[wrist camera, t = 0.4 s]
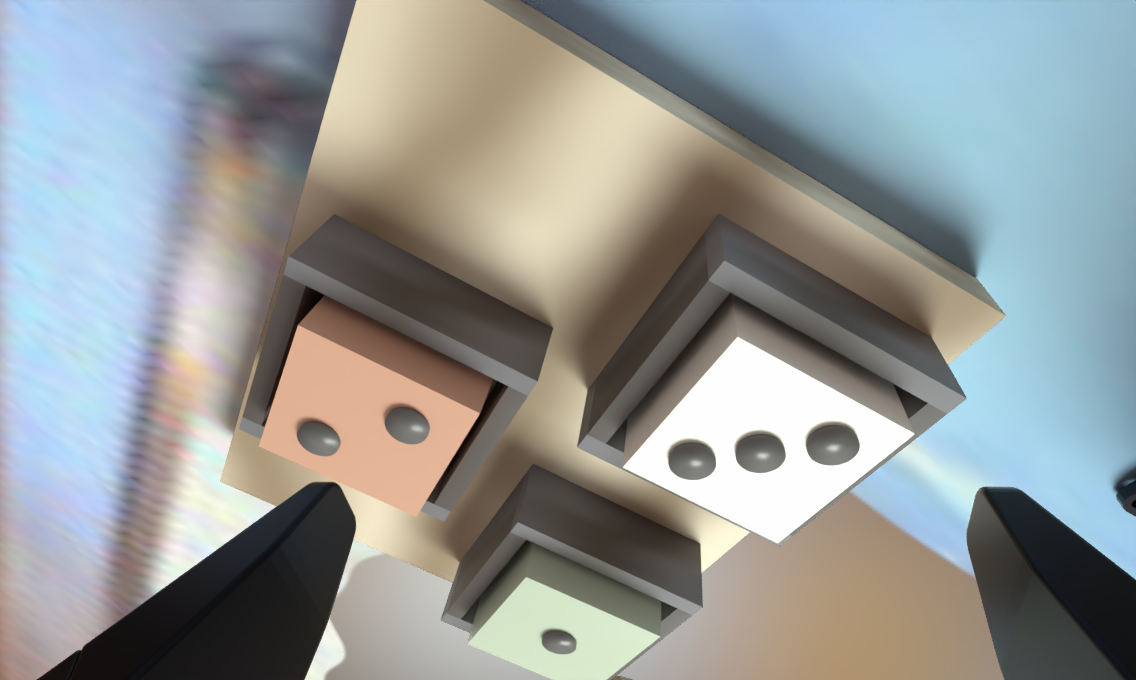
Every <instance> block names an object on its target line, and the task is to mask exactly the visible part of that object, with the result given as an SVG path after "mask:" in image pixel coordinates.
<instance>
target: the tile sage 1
mask: <svg viewBox="0 0 1136 680" xmlns="http://www.w3.org/2000/svg"><path fill="white" fill-rule="evenodd" d="M660 637H661V601H660V600H658V599H656V598H654V597H651V596H649V595H647V594H645V593H643V592H640V591H638V590H636V589H634V588H632V587H629V586H627V585H625V584H623V583H621V582H618V581H616V580H614V579H612V578H610V577H607V576H605V575H603V574H601V573H599V572H596V571H594V570H592V569H590V568H588V567H586V566H583V565H581V564H579V563H577V562H575V561H572V560H570V559H568V558H566V557H564V556H561V555H559V554H557V553H555V552H553V551H550V550H548V549H546V548H544V547H542V546H539V545H537V544H535V543H533V542H531V541H528V540H526V541H525V542H524V544H523V545H522V546H521V547H520V548H519V550H518V551H517V552H516V553H515V554H514V556H513V557H512V558H511V559H510V561H509V562H508V563H507V564H506V565H505V567H504V568H503V569H502V570H501V571H500V573H499V574H498V575H497V576H496V577H495V579H494V580H493V581H492V582H491V584H490V585H489V586H488V587H487V588H486V590H485V591H484V592H483V593H482V594H481V597H480V601H479V604H478V608H477V611H476V615H475V618H474V622H473V625H472V629H471V632H470V636H469V640H468V643H467V644H469V645H471V646H473V647H476V648H478V649H480V650H482V651H485V652H487V653H490V654H492V655H494V656H497V657H499V658H502V659H504V660H507V661H509V662H511V663H514V664H516V665H519V666H521V667H523V668H526V669H528V670H530V671H533V672H535V673H537V674H540V675H542V676H545V677H547V678H549V679H552V680H607V679H608V678H609V677H611V676H612V675H613V674H614V673H616V672H617V671H618V670H619V669H621V668H622V667H623V666H624V665H626V664H627V663H628V662H629V661H631V660H632V659H633V658H634V657H636V656H637V655H638V654H639V653H641V652H642V651H643V650H644V649H646V648H647V647H648V646H650V645H651V644H652V643H653V642H655V641H656V640H657V639H658V638H660Z"/></svg>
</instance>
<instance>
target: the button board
mask: <svg viewBox="0 0 1136 680" xmlns="http://www.w3.org/2000/svg"><path fill="white" fill-rule="evenodd" d="M730 293H732V294H734V295H736V296H737V297H739V298H741V299H743V300H745V301H746V302H748V303H750V304H752V305H754V306H755V307H757V308H759V309H761V310H762V311H764V312H766V313H768V314H770V315H771V316H773V317H775V318H777V319H779V320H780V321H782V322H784V323H786V324H788V325H789V326H791V327H793V328H795V329H796V330H798V331H800V332H802V333H804V334H805V335H807V336H809V337H811V338H813V339H814V340H816V341H818V342H820V343H821V344H823V345H825V346H827V347H829V348H830V349H832V350H834V351H836V352H838V353H839V354H841V355H843V356H845V357H846V358H848V359H850V360H852V361H854V362H855V363H857V364H859V365H861V366H863V367H864V368H866V369H868V370H870V371H871V372H873V373H875V374H877V375H879V376H880V377H882V378H884V379H886V380H888V381H889V382H891V383H893V385H894V387H895V390H896V392H897V394H898V396H899V399H900V401H901V403H902V406H903V408H904V410H905V412H906V415H907V417H908V419H909V421H910V424H911V426H912V428H913V431H914V433H915V434H914V435H913V436H912V437H911V438H909V439H908V440H907V441H906V442H904V443H903V444H902V445H901V446H899V447H898V448H897V449H896V450H894V451H893V452H892V453H890V454H889V455H888V456H887V457H885V458H884V459H883V460H882V461H880V462H879V463H878V464H877V465H875V466H874V467H873V468H872V469H870V470H869V471H868V472H867V473H865V474H864V475H863V476H862V477H860V478H859V479H858V480H857V481H855V482H854V483H853V484H852V485H850V486H849V487H848V488H847V489H845V490H844V491H843V492H842V493H840V494H839V495H838V496H837V497H835V498H834V499H833V500H832V501H830V502H829V503H828V504H826V505H825V506H824V507H823V508H821V509H820V510H819V511H818V512H816V513H815V514H814V515H813V516H811V517H810V518H809V519H808V520H806V521H805V522H804V523H803V524H801V525H800V526H799V527H798V528H796V529H795V530H794V531H793V532H791V533H790V534H789V535H788V536H786V537H785V538H784V539H783V540H781V541H780V542H779V543H776V542H774V541H772V540H770V539H768V538H766V537H764V536H762V535H760V534H758V533H755V532H753V531H751V530H749V529H747V528H745V527H743V526H741V525H739V524H737V523H735V522H733V521H731V520H729V519H727V518H725V517H723V516H721V515H719V514H717V513H715V512H713V511H711V510H709V509H707V508H704V507H702V506H700V505H698V504H696V503H694V502H692V501H690V500H688V499H686V498H684V497H682V496H680V495H678V494H676V493H674V492H672V491H670V490H668V489H666V488H664V487H662V486H660V485H658V484H656V483H653V482H651V481H649V480H647V479H645V478H643V477H641V476H639V475H637V474H635V473H633V472H631V471H629V470H627V469H625V468H623V460H624V449H625V439H626V429H627V419H628V416H629V415H630V414H631V413H632V412H633V410H634V409H635V408H636V407H637V406H638V404H639V403H640V402H641V401H642V400H643V398H644V397H645V396H646V395H647V393H648V392H649V391H650V390H651V389H652V387H653V386H654V385H655V384H656V383H657V381H658V380H659V379H660V378H661V377H662V375H663V374H664V373H665V372H666V370H667V369H668V368H669V367H670V366H671V364H672V363H673V362H674V361H675V360H676V358H677V357H678V356H679V355H680V354H681V352H682V351H683V350H684V349H685V347H686V346H687V345H688V344H689V343H690V341H691V340H692V339H693V338H694V337H695V335H696V334H697V333H698V332H699V331H700V329H701V328H702V327H703V326H704V324H705V323H706V322H707V321H708V320H709V318H710V317H711V316H712V315H713V314H714V312H715V311H716V310H717V309H718V308H719V306H720V305H721V304H722V303H723V301H724V300H725V299H726V298H727V297H728V295H729V294H730ZM324 295H326V296H328V297H330V298H332V299H334V300H336V301H338V302H340V303H342V304H344V305H346V306H348V307H350V308H352V309H354V310H356V311H358V312H360V313H362V314H364V315H366V316H368V317H370V318H372V319H374V320H376V321H378V322H380V323H382V324H384V325H386V326H388V327H390V328H392V329H394V330H396V331H398V332H400V333H402V334H404V335H406V336H408V337H410V338H412V339H414V340H416V341H418V342H420V343H422V344H424V345H426V346H428V347H430V348H432V349H434V350H436V351H438V352H440V353H442V354H445V355H447V356H449V357H451V358H453V359H455V360H457V361H459V362H461V363H463V364H465V365H467V366H469V367H471V368H473V369H475V370H477V371H479V372H481V373H483V374H485V375H487V376H489V377H491V378H493V381H492V384H491V386H490V389H489V391H488V394H487V397H486V399H485V402H484V404H483V407H482V410H481V412H480V414H479V416H478V418H477V419H476V421H475V422H474V424H473V426H472V427H471V429H470V431H469V432H468V434H467V435H466V437H465V439H464V440H463V442H462V444H461V445H460V447H459V448H458V450H457V452H456V453H455V455H454V457H453V458H452V460H451V461H450V463H449V465H448V466H447V468H446V469H445V471H444V473H443V474H442V476H441V478H440V479H439V481H438V482H437V484H436V486H435V487H434V489H433V491H432V492H431V494H430V495H429V497H428V499H427V500H426V502H425V504H424V505H423V507H422V508H421V510H420V512H419V513H418V515H417V516H416V517H415V516H413V515H411V514H409V513H407V512H404V511H402V510H400V509H398V508H395V507H393V506H391V505H389V504H386V503H384V502H382V501H380V500H378V499H375V498H373V497H371V496H369V495H366V494H364V493H362V492H360V491H357V490H355V489H353V488H351V487H349V486H346V485H344V484H342V483H340V482H337V481H335V480H333V479H331V478H328V477H326V476H324V475H322V474H320V473H317V472H315V471H313V470H311V469H308V468H306V467H304V466H302V465H299V464H297V463H295V462H293V461H291V460H288V459H286V458H284V457H282V456H279V455H277V454H275V453H273V452H270V451H268V450H266V449H264V448H261V447H259V444H260V441H261V438H262V434H263V431H264V428H265V425H266V422H267V419H268V416H269V413H270V410H271V407H272V404H273V401H274V398H275V394H276V391H277V388H278V385H279V382H280V379H281V376H282V373H283V370H284V367H285V364H286V361H287V357H288V354H289V351H290V348H291V345H292V342H293V339H294V336H295V333H296V330H297V327H298V325H299V323H300V322H301V321H302V320H303V319H304V318H305V317H306V316H307V314H308V313H309V312H310V311H311V310H312V309H313V308H314V307H315V305H316V304H317V303H318V302H319V301H320V300H321V299H322V297H323V296H324ZM1005 316H1006V315H1005V314H1004V312H1003V311H1002V310H1001V309H1000V307H999V306H998V305H997V303H996V302H995V301H994V300H993V298H992V297H991V296H990V294H989V293H988V292H987V291H986V289H985V288H984V287H983V285H982V284H981V283H980V282H979V280H978V279H977V278H975V277H973V276H972V275H970V274H968V273H967V272H965V271H964V270H962V269H960V268H959V267H957V266H955V265H954V264H952V263H950V262H949V261H947V260H946V259H944V258H942V257H941V256H939V255H937V254H936V253H934V252H932V251H931V250H929V249H928V248H926V247H924V246H923V245H921V244H919V243H918V242H916V241H914V240H913V239H911V238H909V237H908V236H906V235H905V234H903V233H901V232H900V231H898V230H896V229H895V228H893V227H891V226H890V225H888V224H887V223H885V222H883V221H882V220H880V219H878V218H877V217H875V216H873V215H872V214H870V213H868V212H867V211H865V210H864V209H862V208H860V207H859V206H857V205H855V204H854V203H852V202H850V201H849V200H847V199H846V198H844V197H842V196H841V195H839V194H837V193H836V192H834V191H832V190H831V189H829V188H828V187H826V186H824V185H823V184H821V183H819V182H818V181H816V180H814V179H813V178H811V177H809V176H808V175H806V174H805V173H803V172H801V171H800V170H798V169H796V168H795V167H793V166H791V165H790V164H788V163H787V162H785V161H783V160H782V159H780V158H778V157H777V156H775V155H773V154H772V153H770V152H768V151H767V150H765V149H764V148H762V147H760V146H759V145H757V144H755V143H754V142H752V141H750V140H749V139H747V138H746V137H744V136H742V135H741V134H739V133H737V132H736V131H734V130H732V129H731V128H729V127H728V126H726V125H724V124H723V123H721V122H719V121H718V120H716V119H714V118H713V117H711V116H709V115H708V114H706V113H705V112H703V111H701V110H700V109H698V108H696V107H695V106H693V105H691V104H690V103H688V102H687V101H685V100H683V99H682V98H680V97H678V96H677V95H675V94H673V93H672V92H670V91H669V90H667V89H665V88H664V87H662V86H660V85H659V84H657V83H655V82H654V81H652V80H650V79H649V78H647V77H646V76H644V75H642V74H641V73H639V72H637V71H636V70H634V69H632V68H631V67H629V66H628V65H626V64H624V63H623V62H621V61H619V60H618V59H616V58H614V57H613V56H611V55H609V54H608V53H606V52H605V51H603V50H601V49H600V48H598V47H596V46H595V45H593V44H591V43H590V42H588V41H587V40H585V39H583V38H582V37H580V36H578V35H577V34H575V33H573V32H572V31H570V30H569V29H567V28H565V27H564V26H562V25H560V24H559V23H557V22H555V21H554V20H552V19H550V18H549V17H547V16H546V15H544V14H542V13H541V12H539V11H537V10H536V9H534V8H532V7H531V6H529V5H528V4H526V3H524V2H523V1H521V0H356V4H355V7H354V11H353V14H352V18H351V21H350V25H349V28H348V32H347V35H346V39H345V42H344V46H343V49H342V53H341V57H340V60H339V64H338V67H337V71H336V74H335V78H334V81H333V85H332V88H331V92H330V95H329V99H328V102H327V106H326V109H325V113H324V117H323V120H322V124H321V127H320V131H319V134H318V138H317V141H316V145H315V148H314V152H313V155H312V159H311V162H310V166H309V169H308V173H307V177H306V180H305V184H304V187H303V191H302V194H301V198H300V201H299V205H298V208H297V212H296V215H295V219H294V222H293V226H292V229H291V233H290V237H289V240H288V244H287V247H286V251H285V254H284V258H283V261H282V265H281V268H280V272H279V275H278V279H277V282H276V286H275V289H274V293H273V297H272V300H271V304H270V307H269V311H268V314H267V318H266V321H265V325H264V328H263V332H262V335H261V339H260V342H259V346H258V349H257V353H256V357H255V360H254V364H253V367H252V371H251V374H250V378H249V381H248V385H247V388H246V392H245V395H244V399H243V402H242V406H241V409H240V413H239V417H238V420H237V424H236V427H235V431H234V434H233V438H232V441H231V445H230V448H229V452H228V455H227V459H226V462H225V466H224V469H223V473H222V477H221V480H220V482H222V483H225V484H227V485H229V486H231V487H234V488H236V489H238V490H241V491H243V492H245V493H248V494H250V495H252V496H254V497H257V498H259V499H261V500H264V501H266V502H268V503H271V504H273V505H275V506H278V505H280V504H281V503H282V502H284V501H285V500H286V499H288V498H289V497H291V496H292V495H293V494H295V493H296V492H298V491H299V490H300V489H302V488H303V487H304V486H306V485H307V484H309V483H311V482H336V483H337V484H338V485H339V486H340V487H341V488H342V490H343V492H344V495H345V497H346V499H347V501H348V503H349V505H350V507H351V509H352V511H353V513H354V515H355V518H356V532H355V536H354V539H353V540H356V541H358V542H360V543H363V544H365V545H367V546H370V547H372V548H374V549H376V550H379V551H381V552H383V553H386V554H388V555H390V556H393V557H395V558H397V559H400V560H402V561H404V562H406V563H409V564H411V565H413V566H416V567H418V568H420V569H423V570H425V571H427V572H429V573H432V574H434V575H436V576H439V577H441V578H443V579H446V580H448V581H450V582H452V583H453V584H452V587H451V590H450V593H449V596H448V600H447V603H446V606H445V609H444V612H443V615H442V618H441V621H443V622H446V623H448V624H450V625H453V626H455V627H457V628H460V629H462V630H465V631H467V632H469V633H470V632H471V629H472V625H473V622H474V618H475V615H476V611H477V608H478V604H479V601H480V597H481V594H482V593H483V592H484V591H485V590H486V588H487V587H488V586H489V585H490V584H491V582H492V581H493V580H494V579H495V577H496V576H497V575H498V574H499V573H500V571H501V570H502V569H503V568H504V567H505V565H506V564H507V563H508V562H509V561H510V559H511V558H512V557H513V556H514V554H515V553H516V552H517V551H518V550H519V548H520V547H521V546H522V545H523V544H524V542H525V541H526V540H528V541H531V542H533V543H535V544H537V545H539V546H542V547H544V548H546V549H548V550H550V551H553V552H555V553H557V554H559V555H561V556H564V557H566V558H568V559H570V560H572V561H575V562H577V563H579V564H581V565H583V566H586V567H588V568H590V569H592V570H594V571H596V572H599V573H601V574H603V575H605V576H607V577H610V578H612V579H614V580H616V581H618V582H621V583H623V584H625V585H627V586H629V587H632V588H634V589H636V590H638V591H640V592H643V593H645V594H647V595H649V596H651V597H654V598H656V599H658V600H660V601H661V637H660V638H658V639H657V640H656V641H655V642H653V643H652V644H651V645H650V646H648V647H647V648H646V649H644V650H643V651H642V652H641V653H639V654H638V655H637V656H636V657H634V658H633V659H632V660H631V661H629V662H628V663H627V664H626V665H624V666H623V667H622V668H621V669H619V670H618V671H617V672H616V673H614V674H613V675H612V676H611V677H609V678H608V679H607V680H611V679H612V678H614V677H615V676H616V675H618V674H619V673H620V672H621V671H623V670H624V669H625V668H626V667H627V666H629V665H630V664H631V663H633V662H634V661H635V660H636V659H638V658H639V657H640V656H642V655H643V654H644V653H645V652H647V651H648V650H649V649H650V648H652V647H653V646H654V645H655V644H657V643H658V642H659V641H661V640H662V639H663V638H664V637H666V636H667V635H668V634H669V633H671V632H672V631H673V630H674V629H676V628H677V627H678V626H679V625H681V624H682V623H683V622H684V621H686V620H687V619H688V618H690V617H691V616H692V615H693V614H695V613H696V612H697V611H698V610H700V609H701V608H702V607H703V604H702V574H701V573H702V572H703V571H704V570H705V569H707V568H708V567H709V566H710V565H711V564H712V563H714V562H715V561H716V560H717V559H718V558H720V557H721V556H722V555H723V554H724V553H726V552H727V551H728V550H729V549H730V548H731V547H733V546H734V545H735V544H736V543H737V542H739V541H740V540H741V539H742V538H743V537H745V535H747V534H748V533H749V532H751V533H753V534H755V535H757V536H759V537H761V538H763V539H765V540H767V541H769V542H771V543H773V544H775V545H777V546H781V545H782V544H783V543H785V542H786V541H787V540H788V539H790V538H791V537H792V536H793V535H795V534H796V533H797V532H798V531H800V530H801V529H802V528H803V527H805V526H806V525H807V524H808V523H810V522H811V521H812V520H814V519H815V518H816V517H817V516H819V515H820V514H821V513H822V512H823V511H825V510H826V509H827V508H829V507H830V506H831V505H833V504H834V503H835V502H836V501H838V500H839V499H840V498H841V497H843V496H844V495H845V494H846V493H848V492H849V491H850V490H852V489H853V488H854V487H855V486H857V485H858V484H859V483H860V482H862V481H863V480H864V479H865V478H867V477H868V476H869V475H871V474H872V473H873V472H874V471H876V470H877V469H878V468H879V467H881V466H882V465H883V464H884V463H886V462H887V461H888V460H889V459H891V458H892V457H893V456H895V455H896V454H897V453H898V452H900V451H901V450H902V449H903V448H905V447H906V446H907V445H908V444H910V443H911V442H912V441H914V440H915V439H916V438H917V437H919V436H920V435H921V434H922V433H924V432H925V431H926V430H927V429H929V428H930V427H931V426H932V425H934V424H935V423H936V422H938V421H939V420H940V419H941V418H943V417H944V416H945V415H946V414H948V413H949V412H950V411H951V410H953V409H954V408H955V407H957V406H958V405H959V404H960V403H962V402H963V401H964V400H965V399H967V398H966V396H965V394H964V392H963V391H962V389H961V387H960V385H959V384H958V382H957V380H956V378H955V377H954V375H953V373H952V372H951V370H950V368H949V366H948V364H950V363H951V362H952V361H953V360H954V359H956V358H957V357H958V356H959V355H960V354H961V353H963V352H964V351H965V350H966V349H967V348H969V347H970V346H971V345H972V344H973V343H975V342H976V341H977V340H978V339H979V338H980V337H982V336H983V335H984V334H985V333H986V332H988V331H989V330H990V329H991V328H992V327H993V326H995V325H996V324H997V323H998V322H999V321H1001V320H1002V319H1003V318H1004V317H1005Z"/></svg>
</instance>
